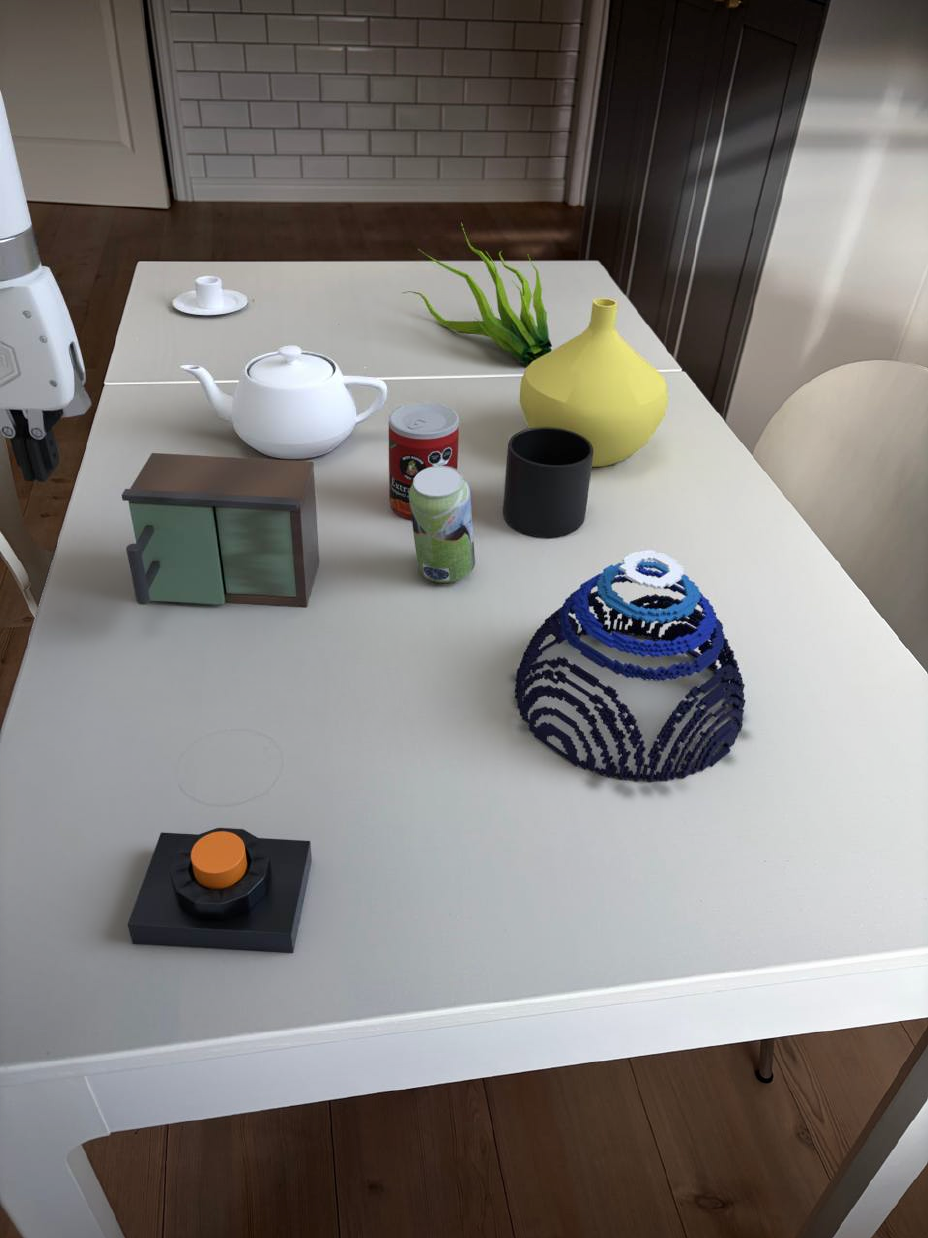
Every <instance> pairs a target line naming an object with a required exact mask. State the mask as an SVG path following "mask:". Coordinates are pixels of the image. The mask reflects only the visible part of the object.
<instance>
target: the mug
mask: <svg viewBox="0 0 928 1238" xmlns="http://www.w3.org/2000/svg"><path fill="white" fill-rule="evenodd" d="M506 449H507V450H506V463H505V476H504V491H503V502H502V503H503V505H502V515H503V518H504V520H505V521H506V523H507V524H508V525H509V526H511V527H512V528H513V529H514V530H516V531H518V532H521V533H523V534H526V535H529V536H532V537H539V538H557V537H558V538H559V537H564V536H568V535H570V534H572V533H575V532H576V531H577V530H579V529H580V528H581V527H582V525H583V523H584V521H585V519H586V511H587V505H588V497H589V489H590V482H591V475H592V468H593V467H592V460H593V453H594V451H593V446H592V444H591V443H590V442H589V441H588V440H587V439H586V438H585V437H583V436H581V435H579V434H577V433H575V432H572V431H569V430H565V429H560V428H552V427H536V428H530V429H529V428H525V429H522V430H520V431H517V432H515V433H514V434H513V435H512V436H511V437H510V438H509V439H508V442H507V448H506Z"/></svg>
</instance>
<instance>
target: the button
mask: <svg viewBox="0 0 928 1238" xmlns="http://www.w3.org/2000/svg"><path fill="white" fill-rule="evenodd" d="M191 861H192V866H193V871H194V876H195V878H196V880H197V881H198V882H199V883H200V884H201V885H203V886H204V887H207V888H211V889H222V888H226V887H229V886H232V885H233V884H235V883H237V882H238V881H239V880H240V879H241V878H242V877H243V875H244V874H245V872H246V869H247V859H246V852H245V846H244V843H243V841H242V840H241V838H239V837H238V836H237V835H235V834H233V833H230V832H225V831H220V832H213V833H210V834H208V835H206V836H204V837H202V838H201V839H200V840H198V841H197V842H196V844H195V845H194V847H193V849H192V851H191Z"/></svg>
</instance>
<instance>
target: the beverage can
mask: <svg viewBox="0 0 928 1238" xmlns="http://www.w3.org/2000/svg"><path fill="white" fill-rule="evenodd" d="M471 500H472V499H471V489H470V486H469V484H468V482H467V481H466V479H465V478H464V477H463V474H462V472H460V471H459V470H458V469H457V470H456V469H454V468H452V467H448V466H434V467H429V468H426V469H424V470H422V471H421V472H419V473H418V474H417V475H416V476H415V478H414V480H413V484H412V486H411V488H410V490H409V501H410V509H411V517H412V519H411V524H412V532H413V539H414V548H415V555H416V563H417V569H418V571H419V573H420V574H421V575H422V576H423V577H424V578H426V580H429V581H432V582H436V583H442V584H447V583H448V584H449V583H454V582H457V581H460V580H462V579H464V578H466V577H467V576H468V575H469V574H471V572H472V571H473V570H474V568H475V566H476V557H475V541H474V527H473V526H474V525H473V513H472V512H473V511H472V501H471Z"/></svg>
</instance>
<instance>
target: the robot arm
mask: <svg viewBox="0 0 928 1238" xmlns="http://www.w3.org/2000/svg"><path fill="white" fill-rule="evenodd" d="M1 91H2V90H0V434H1V435H2V436H3V437H4V438H7V439H9V441H10V445H11V448H12V451H13V455H14V458H15V462H16V465H17V467H19V468H21V472H22V476H23V480H24V481H25V482H34V481H37V482H38V483H46V482H47V481H48V479H49V478H50V477H51V475H52V474H53V473H54V471H55V470H56V468H57V467H58V466H59V464H60V454H59V450H58V446H57V442H56V438H55V435H54V429H53V428H54V426H55V425H56V424H57V423H58V422H59V420H60V419H62V418H71V417H75V416H76V417H77V416H82V415H85V414H86V413H87V412H88V410H89V409H90V408H91V406H92V400H91V398H90V396H89V394H88V392H87V390H86V388H85V386H84V385H85V384H86V378H87V376H86V368H85V364H84V360H83V355H82V351H81V347H80V344H79V340H78V337H77V334H76V331H75V327H74V323H73V320H72V318H71V315H70V312H69V309H68V307H67V305H66V302H65V299H64V296H63V294H62V291H61V289H60V287H59V285H58V283H57V280H56V278H55V276H54V274H53V273H52V270H51V268H50V266H49V267H48V266H45V265H42V262H41V258H40V253H39V248H38V245H37V239H36V236H35V231H34V228H33V224H32V220H31V214H30V211H29V206H28V202H27V197H26V193H25V189H24V185H23V180H22V176H21V172H20V167H19V163H18V158H17V154H16V150H15V146H14V141H13V137H12V136H13V135H12V133H11V129H10V124H9V123H10V122H9V119H8V115H7V111H6V110H7V109H6V106H5V102H4V98H3V95H2V92H1Z"/></svg>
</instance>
